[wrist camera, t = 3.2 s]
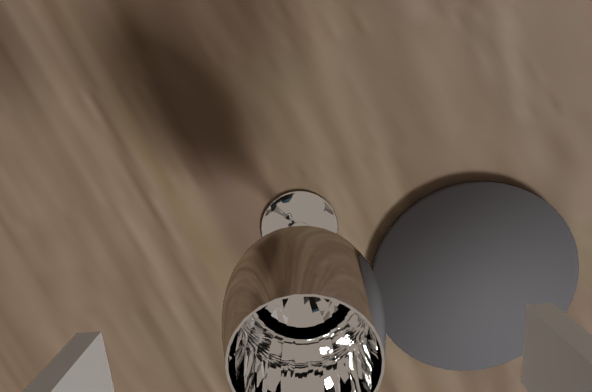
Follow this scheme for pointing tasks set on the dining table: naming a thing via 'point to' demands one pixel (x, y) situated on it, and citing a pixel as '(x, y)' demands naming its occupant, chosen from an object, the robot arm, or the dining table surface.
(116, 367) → the dining table surface
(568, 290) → the coaster
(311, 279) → the wineglass
